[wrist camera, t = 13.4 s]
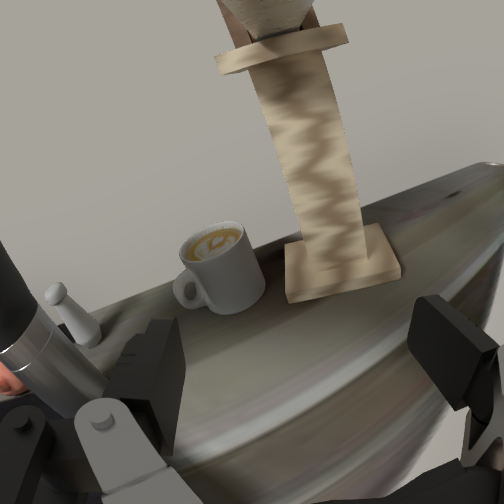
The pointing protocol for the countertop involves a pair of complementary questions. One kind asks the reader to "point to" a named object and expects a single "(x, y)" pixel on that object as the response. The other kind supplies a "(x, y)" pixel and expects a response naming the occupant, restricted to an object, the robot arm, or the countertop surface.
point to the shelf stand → (312, 159)
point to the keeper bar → (269, 16)
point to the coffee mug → (220, 270)
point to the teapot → (10, 382)
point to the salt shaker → (74, 316)
